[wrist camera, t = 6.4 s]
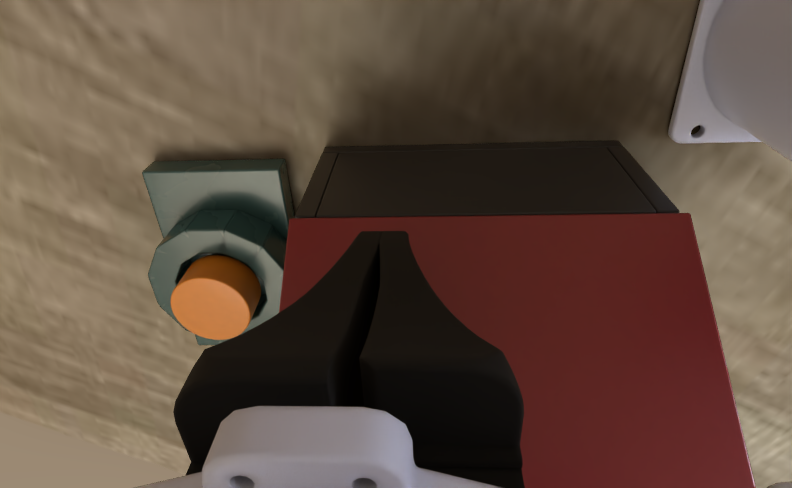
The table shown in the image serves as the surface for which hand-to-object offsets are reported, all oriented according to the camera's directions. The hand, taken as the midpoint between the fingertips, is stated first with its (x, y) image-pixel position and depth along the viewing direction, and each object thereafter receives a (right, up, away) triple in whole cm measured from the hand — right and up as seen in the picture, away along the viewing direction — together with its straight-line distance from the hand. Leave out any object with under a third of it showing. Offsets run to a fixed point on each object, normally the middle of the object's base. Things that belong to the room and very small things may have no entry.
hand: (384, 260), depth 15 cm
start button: (-7, -1, +9) cm, 12 cm away
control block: (-7, 0, +11) cm, 13 cm away
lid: (+3, -4, 0) cm, 5 cm away
